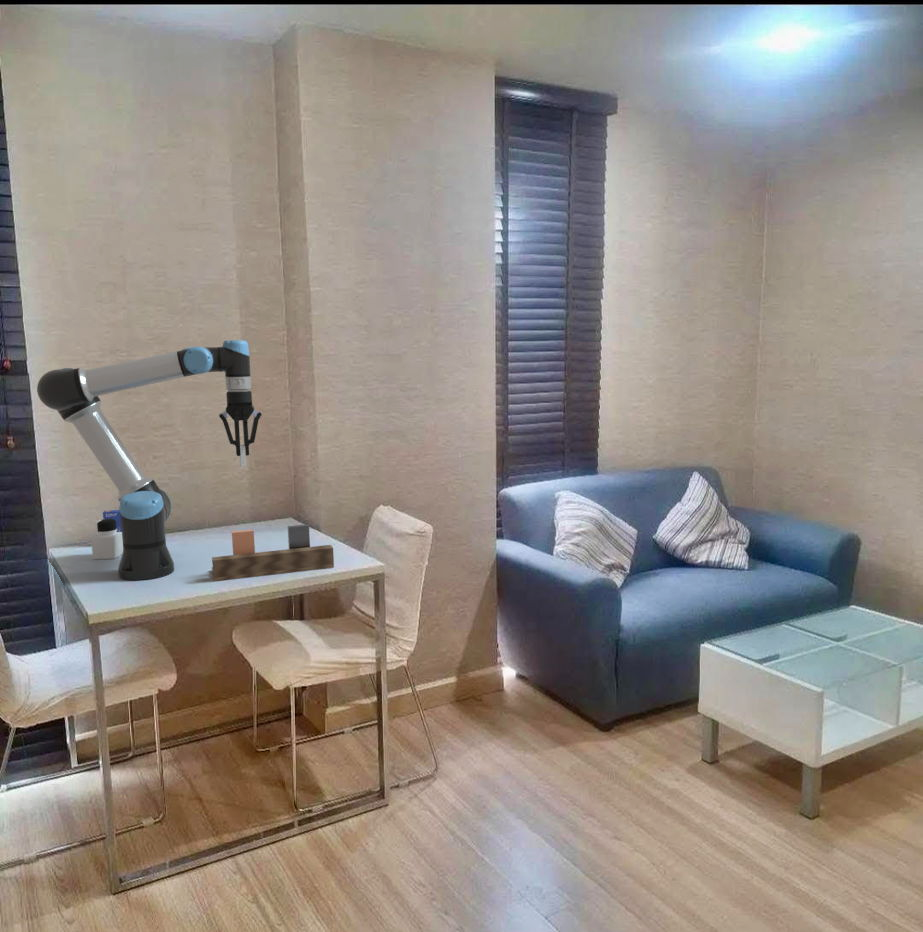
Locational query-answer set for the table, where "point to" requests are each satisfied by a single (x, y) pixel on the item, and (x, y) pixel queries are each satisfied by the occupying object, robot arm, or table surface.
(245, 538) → the terracotta key
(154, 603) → the table surface
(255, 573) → the brown piece
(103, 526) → the medicine bottle
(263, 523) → the table surface
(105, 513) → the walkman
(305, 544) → the grey rectangular slab
